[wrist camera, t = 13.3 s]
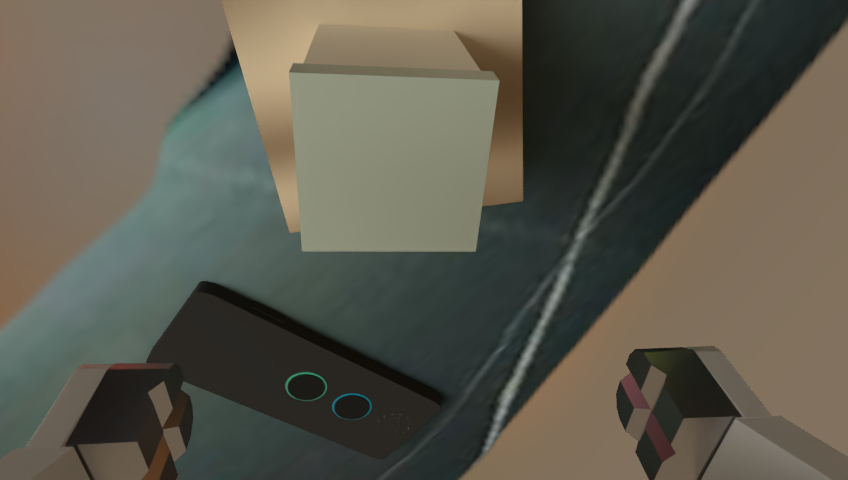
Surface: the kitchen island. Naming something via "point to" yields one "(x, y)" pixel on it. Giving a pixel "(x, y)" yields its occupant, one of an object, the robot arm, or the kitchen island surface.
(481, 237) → the kitchen island surface
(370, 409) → the smart home device
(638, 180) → the kitchen island surface
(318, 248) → the cream tea tin
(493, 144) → the oak block
